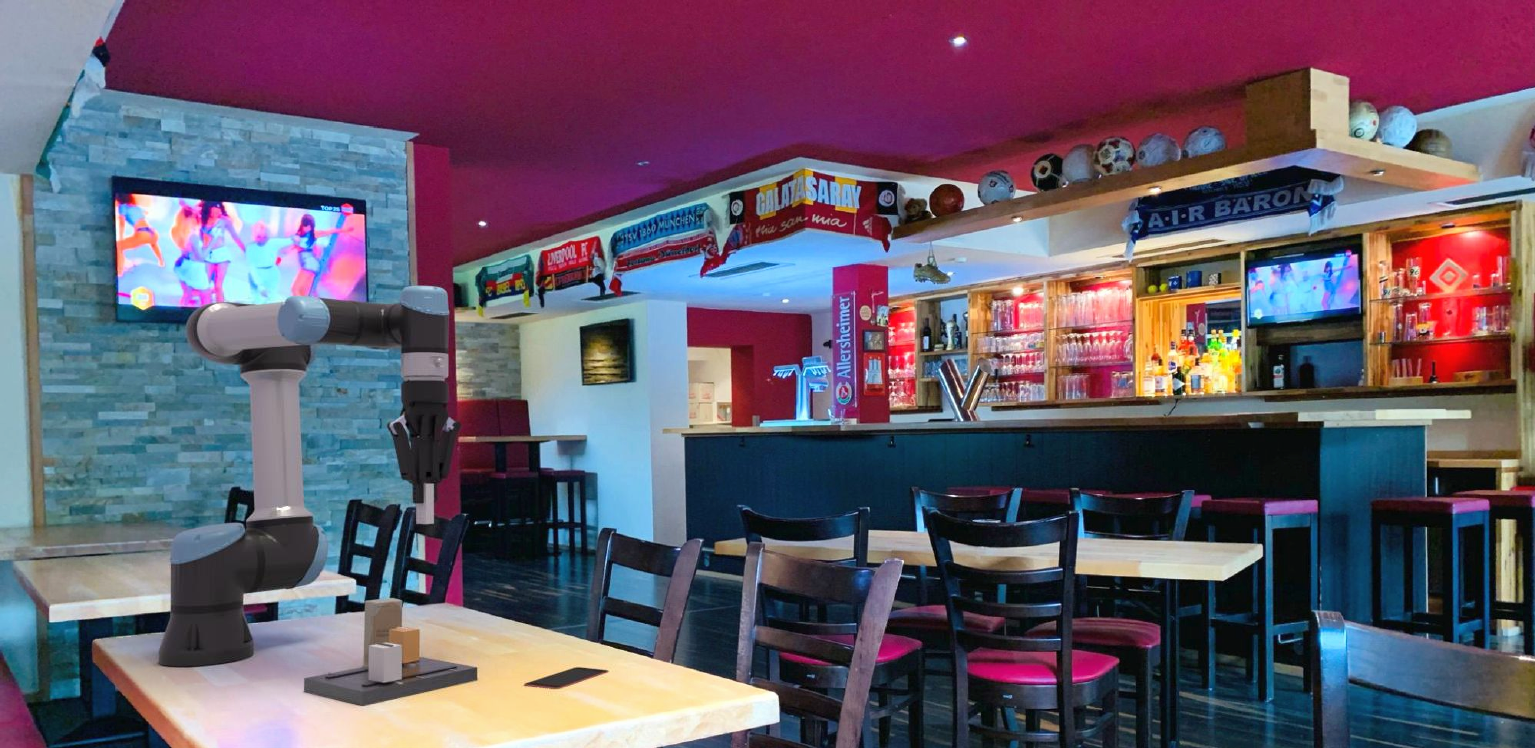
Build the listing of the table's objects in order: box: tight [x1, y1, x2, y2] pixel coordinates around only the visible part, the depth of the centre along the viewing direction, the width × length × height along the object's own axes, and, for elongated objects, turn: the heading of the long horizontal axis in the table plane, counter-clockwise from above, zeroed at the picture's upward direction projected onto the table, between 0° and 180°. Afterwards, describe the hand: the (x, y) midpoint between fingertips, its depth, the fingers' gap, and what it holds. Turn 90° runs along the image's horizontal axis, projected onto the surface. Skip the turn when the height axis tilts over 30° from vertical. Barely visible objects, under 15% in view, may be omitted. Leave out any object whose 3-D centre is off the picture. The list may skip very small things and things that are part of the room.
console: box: [303, 656, 478, 707], centre depth 171 cm, size 17×20×2 cm
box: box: [363, 597, 403, 666], centre depth 187 cm, size 5×4×11 cm
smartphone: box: [523, 666, 610, 690], centre depth 174 cm, size 7×1×14 cm
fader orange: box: [389, 626, 421, 663], centre depth 179 cm, size 4×3×5 cm
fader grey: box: [369, 643, 402, 683], centre depth 165 cm, size 4×3×5 cm
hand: (425, 523), depth 181 cm, fingers closed
